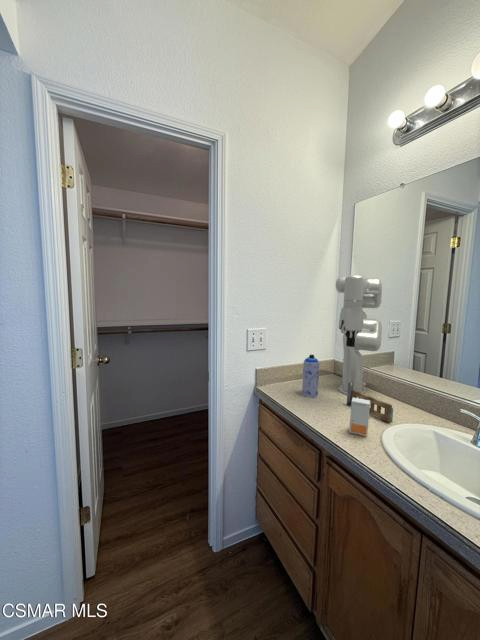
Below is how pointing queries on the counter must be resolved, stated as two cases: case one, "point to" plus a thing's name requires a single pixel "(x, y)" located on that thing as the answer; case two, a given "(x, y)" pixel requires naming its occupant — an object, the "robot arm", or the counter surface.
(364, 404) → the skincare box
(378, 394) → the counter surface
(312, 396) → the aerosol can
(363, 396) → the gate
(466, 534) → the counter surface
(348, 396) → the teal elongated shape
